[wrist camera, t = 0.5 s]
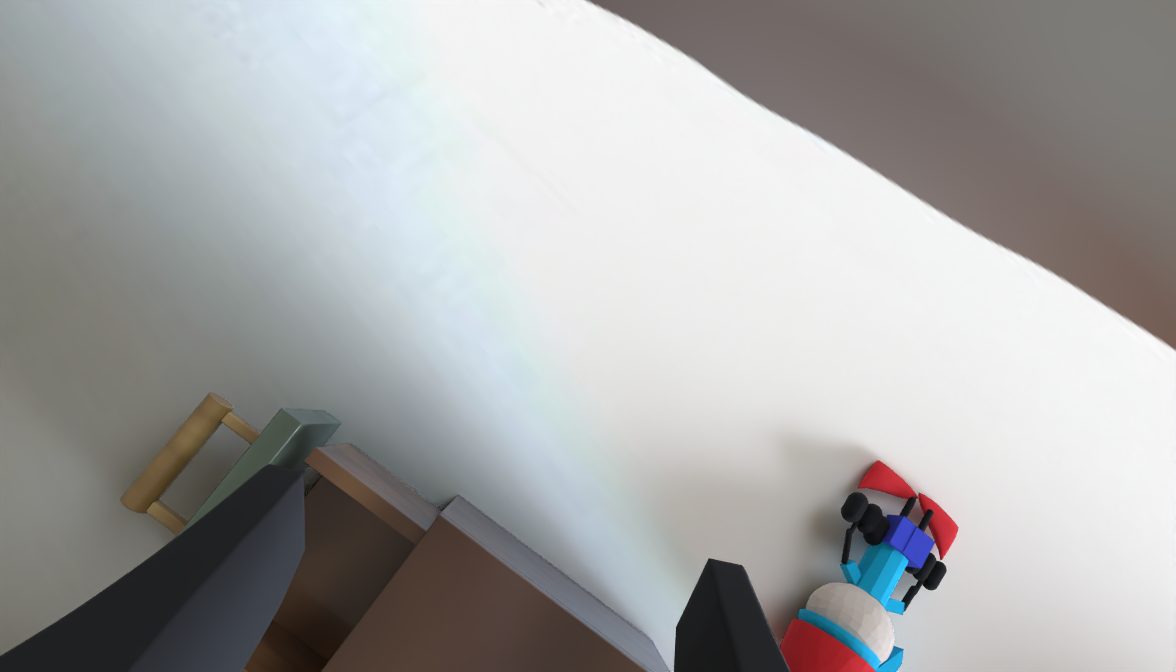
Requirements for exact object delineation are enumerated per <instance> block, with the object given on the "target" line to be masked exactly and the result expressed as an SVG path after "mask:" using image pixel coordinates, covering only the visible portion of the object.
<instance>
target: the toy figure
mask: <svg viewBox="0 0 1176 672" xmlns="http://www.w3.org/2000/svg"><path fill="white" fill-rule="evenodd" d="M858 488H869V489H874V490H878V491H881V492H885V493H888V494H891V495H894V496H898V497H901V498H905V499H908V500H907V502H906V504H905V506H904V508H903V509H902V511H901V513H900V515H899V516H898V515H887V517H884V516H883V514H882V510H881V508H880V507H879V506H877V505H876V504H871V503H870V504H868V500H867V498H866V496H865V495H863V494H862V493H859V492H854V493H851V494H850V495H849V496H848V498H847V500H846V501H845V503H844V505H843V507H842V508H841V514H842V517H843V518H844V519H845V520H846V521H848V522H851V523H853V524H852V526H851V527H850V528H849V529H847V531H846V537H845V542H844V548H843V554H842V560H841V562H842V564H840V566H841V568H842V571H843V573H844V575H845V577H846V579H847V582H848V583H841V582H832V583H828V584H824V585H823V586H821V587H819V588H818V589H816V590H815V591H814V592H813V593H812V594H811V596H810V597H809V600H808V602H807V605H806V609H800V611H799V613H798V619H792V621H791V623H790V625H789V627H788V629H787V631H786V633H785V635H784V638H783V641H782V643H781V646H780V650H781V652H782V654H783V656H784V659H785V661H786V663H787V665H788V667H789V669H790V671H791V672H896V671H897V670H898V669H899V667H900V666H901V664H902V658H903V650H904V649H901V648H898V647H895V646H894V641H895V637H894V629H893V624H892V622H891V619H890V617H889V615H888V613H887V612H886V610H887V611H890V612H894V613H897V614H901V615H903V612H904V611H905V610H906V608H907V607H908V605H909V604H910V602H911V601H912V599H913V597H914V596H915V595H916V594H917V592H918V591H919V589H920V587H921V586H922V584H923V586H924V587H925V588H926V589H928V590H935V589H936V588H937V587H938V585H939V583H940V582H941V580H942V578H943V577H944V575H945V573H946V566H945V565H944V564H943V563H942V562H940V561H936V558H935V556H934V555H933V554H932V553H930V551H931V549H932V547H933V545H934V543H936V545H937V548H938V550H939V555H940V560H942V559H943V557H944V556H945V554H946V553H947V551H948V550H949V548H950V546H951V544H952V543H953V541H954V539H955V537H956V534H957V531H958V526H957V525H956V523H955V522H954V521H953V520H952V519H951V518H950V517H949V516H948V515H947V513H946V512H944V511H943V509H942V508H941V507H940V506H939V505H938V504H936V503H935V502H934V501H933V500H931V499H930V498H928V497H927V496H925V495H923V494H921V493H919V494H918V497H917V495H916V494H915V492H914V491H913V490H912V488H911V487H910V486H909V485H908V484H907V483H906V482H905V481H904V480H903V479H902V478H901V477H900V476H899V475H897V474H896V473H895V472H894V471H893V470H891V469H890V468H889V467H887V466H886V465H885V464H883V463H882V462H881V461H876V462H875V464H874V465H873V466H872V467H871V468H870V469H869V471H868V472H867V474H866V475H865V476H864V478H863V479H862V481H861V483H860V484H859V486H858ZM917 498H919V503H920V506H921V509H922V511H923V514H924V517H923V518H922V520H921V522H920V524H919V526H918V527H916V526H915V525H914V524H913V523H912V522H911V521H910V520H908V519H907V516H908V515H909V513H910V511H911V509H912V507H913V506H914V504H915V502H916V499H917ZM927 525H929V528H930V530H931V532H932V535H933V537H934V540H935V542H934V541H933V540H932V539H931V538H930V537H929V536H927V535H926V534H925V533H924V531H925V529H926V527H927ZM856 527H857V529H858V530H859V531H860V532H862V533H863V537H864V539H865V541H866V542H867V543H868V544H870V545H869V547H868V549H867V550H866V552H865V554H864V556H863V557H862V559H861V561H860V563H859V564H858V566H857V564H856V562H855V561H853V560H848V557H849V551H850V545H851V539H852V534H853V532H854V531H855V529H856ZM904 570H906V571H907V572H908V573H910V574H913V576H914V578H916V579H917V580H918V582H917V584H916V585H915V586H911V587H910V589H909V590H908V592H907V593H906V595H905V596H904V598H903V599H902V601H897V600H894V599H891V598H890V596H891V594H892V592H893V590H894V588H895V587H896V585H897V583H898V581H899V579H900V577H901V575H902V573H903V572H904Z"/></svg>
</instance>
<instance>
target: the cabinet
mask: <svg viewBox="0 0 1176 672" xmlns="http://www.w3.org/2000/svg"><path fill="white" fill-rule="evenodd" d="M321 672H670V671H669V670H668V668H667V666H666V664H665V662H664V661H663V659H662V657H661V655H660V653H659V652H658V650H657V648H656V646H655V644H654V643H653V641H652V640H651V639H650V638H649V637H647V636H646V635H645V634H643V633H642V632H641V631H639V630H638V629H637V628H635V627H634V626H633V625H631V624H630V623H629V622H627V621H626V620H625V619H623V618H622V617H621V616H619V615H618V614H617V613H615V612H614V611H613V610H611V609H610V608H609V607H607V606H606V605H605V604H603V603H602V602H601V601H599V600H598V599H597V598H595V597H594V596H593V595H591V594H590V593H589V592H587V591H586V590H585V589H583V588H582V587H581V586H579V585H578V584H577V583H575V582H574V581H573V580H572V579H570V578H569V577H568V576H566V575H565V574H564V573H562V572H561V571H560V570H558V569H557V568H556V567H554V566H553V565H552V564H550V563H549V562H548V561H546V560H545V559H544V558H542V557H541V556H540V555H538V554H537V553H536V552H534V551H533V550H532V549H530V548H529V547H528V546H526V545H525V544H524V543H522V542H521V541H520V540H518V539H517V538H516V537H514V536H513V535H512V534H510V533H509V532H508V531H506V530H505V529H504V528H502V527H501V526H500V525H498V524H497V523H496V522H494V521H493V520H492V519H490V518H489V517H488V516H486V515H485V514H484V513H482V512H481V511H480V510H478V509H477V508H476V507H474V506H473V505H472V504H470V503H469V502H468V501H466V500H465V499H464V498H463V497H461V496H460V495H458V496H457V497H456V498H455V499H454V500H453V501H452V502H451V503H450V504H449V505H448V506H447V507H446V508H445V509H444V510H443V511H442V512H441V513H440V514H439V515H438V516H437V518H436V519H435V520H434V522H433V523H432V524H431V526H430V527H429V528H428V530H427V531H426V532H425V534H424V535H423V536H422V538H421V539H420V540H419V542H418V543H417V544H416V546H415V547H414V548H413V550H412V551H411V552H410V554H409V555H408V556H407V558H406V559H405V560H404V562H403V563H402V564H401V566H400V567H399V568H398V569H397V571H396V572H395V573H394V575H393V576H392V577H391V579H390V580H389V581H388V583H387V584H386V585H385V587H384V588H383V589H382V591H381V592H380V593H379V595H378V596H377V597H376V599H375V600H374V601H373V603H372V604H371V605H370V607H369V608H368V609H367V611H366V612H365V613H364V615H363V616H362V617H361V619H360V620H359V621H358V622H357V624H356V625H355V626H354V628H353V629H352V630H351V632H350V633H349V634H348V636H347V637H346V638H345V640H344V641H343V642H342V644H341V645H340V646H339V648H338V649H337V650H336V652H335V653H334V654H333V656H332V657H331V658H330V660H329V661H328V662H327V664H326V665H325V666H324V668H323V669H322V670H321Z"/></svg>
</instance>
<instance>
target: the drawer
mask: <svg viewBox="0 0 1176 672" xmlns="http://www.w3.org/2000/svg"><path fill="white" fill-rule="evenodd" d="M233 409H234V406H233V405H232V404H231V403H230V402H229V401H227V400H226V399H225V398H223V397H221V396H220V395H217V394H215V393H209V394H208V395H207V396H206V397H205V399H204V400H203V401H202V402H201V403H200V405H199V406H198V407H197V408H196V409H195V410H194V412H193V413H192V414H191V415H190V416H189V418H188V419H187V420H186V421H185V422H184V424H183V425H182V426H181V427H180V428H179V429H178V431H177V432H176V433H175V434H174V435H173V437H172V438H171V439H170V440H169V441H168V443H167V444H166V445H165V446H164V447H163V448H162V450H161V451H160V452H159V453H158V454H157V456H156V457H155V458H154V459H153V460H152V462H151V463H150V464H149V465H148V466H147V467H146V469H145V470H144V471H143V472H142V473H141V475H140V476H139V477H138V478H137V479H136V481H135V482H134V483H133V484H132V485H131V486H130V488H129V489H128V490H127V491H126V492H125V494H124V495H123V496H122V497H121V502H122V503H123V504H124V505H125V506H126V507H127V508H129V509H130V510H132V511H135V512H137V513H142V514H144V513H149V514H150V515H151V516H153V517H154V518H155V519H157V520H158V521H159V522H161V523H162V524H163V525H165V526H166V527H167V528H169V529H170V530H171V531H173V532H174V533H175V534H177V536H179V535H180V534H181V533H182V532H184V531H185V530H186V529H188V528H189V527H190V526H192V525H193V524H194V523H195V522H197V521H198V520H199V519H200V518H202V517H203V516H204V515H205V514H207V513H208V512H209V511H210V510H212V509H213V508H214V507H215V506H217V505H218V504H219V503H220V502H222V501H223V500H224V499H225V498H226V497H228V496H229V495H230V494H231V493H233V492H234V491H235V490H236V489H237V488H239V487H240V486H241V485H242V484H243V483H244V482H246V481H247V480H248V479H249V478H250V477H252V476H253V475H254V474H255V473H256V472H258V471H259V470H260V469H261V468H262V467H264V466H266V465H268V464H271V465H276V466H281V467H285V468H290V469H295V470H299V471H304V469H305V468H306V467H307V466H308V465H309V466H311V467H312V468H313V469H315V470H316V471H317V472H319V473H320V474H321V475H322V476H321V477H320V478H319V479H318V481H317V482H316V483H315V484H314V486H313V487H312V488H311V489H310V491H309V492H308V493H307V494H306V496H305V497H304V510H305V551H304V553H303V556H302V558H301V560H300V563H299V565H298V567H297V569H296V572H295V574H294V576H293V579H292V581H291V583H290V585H289V588H288V590H287V592H286V594H285V596H284V599H283V601H282V603H281V605H280V607H279V609H278V611H277V612H276V614H275V616H274V618H273V619H272V621H271V623H270V625H269V626H268V628H267V630H266V632H265V633H264V635H263V637H262V638H261V640H260V642H259V644H258V645H257V647H256V649H255V651H254V652H253V654H252V656H251V657H250V659H249V661H248V662H247V664H246V666H245V668H244V669H243V671H242V672H321V670H322V669H323V668H324V666H325V665H326V664H327V662H328V661H329V660H330V658H331V657H332V656H333V654H334V653H335V652H336V650H337V649H338V648H339V646H340V645H341V644H342V642H343V641H344V640H345V638H346V637H347V636H348V634H349V633H350V632H351V630H352V629H353V628H354V626H355V625H356V624H357V622H358V621H359V620H360V619H361V617H362V616H363V615H364V613H365V612H366V611H367V609H368V608H369V607H370V605H371V604H372V603H373V601H374V600H375V599H376V597H377V596H378V595H379V593H380V592H381V591H382V589H383V588H384V587H385V585H386V584H387V583H388V581H389V580H390V579H391V577H392V576H393V575H394V573H395V572H396V571H397V569H398V568H399V567H400V566H401V564H402V563H403V562H404V560H405V559H406V558H407V556H408V555H409V554H410V552H411V551H412V550H413V548H414V547H415V546H416V544H417V543H418V542H419V540H420V539H421V538H422V536H423V535H424V534H425V532H426V531H427V530H428V528H429V527H430V526H431V524H432V523H433V522H434V520H435V519H436V518H437V516H438V515H439V514H440V513H441V512H442V511H441V510H439V509H438V508H437V507H435V506H434V505H433V504H431V503H430V502H429V501H427V500H426V499H425V498H423V497H422V496H421V495H419V494H418V493H417V492H415V491H414V490H413V489H411V488H410V487H409V486H407V485H406V484H405V483H404V482H402V481H401V480H400V479H398V478H397V477H396V476H394V475H393V474H392V473H390V472H389V471H388V470H386V469H385V468H384V467H382V466H381V465H380V464H378V463H377V462H376V461H374V460H373V459H372V458H370V457H369V456H368V455H366V454H365V453H364V452H362V451H361V450H360V449H358V448H357V447H356V446H354V445H353V444H352V443H348V444H339V445H331V446H324V444H325V443H326V442H327V441H328V439H329V438H330V437H331V436H332V434H333V433H334V432H335V431H336V429H337V428H338V427H339V426H340V424H341V422H339V421H338V420H337V419H335V418H334V417H333V416H331V415H330V414H329V413H327V412H326V411H324V410H304V409H284V408H282V409H280V411H279V412H278V413H277V414H276V415H275V417H274V418H273V419H272V420H271V422H270V423H269V424H268V425H267V426H266V428H265V429H264V430H263V431H262V433H260V432H259V431H257V430H256V429H255V428H253V427H252V426H251V425H249V424H248V423H247V422H245V421H244V420H243V419H241V418H240V417H239V416H237V415H236V414H235V413H233V412H231V411H232V410H233ZM222 423H224V424H225V425H226V426H228V427H229V428H230V429H232V430H233V431H234V432H236V433H237V434H238V435H240V436H241V437H242V438H244V439H245V440H246V441H248V442H249V443H250V444H252V445H251V446H250V447H249V448H248V450H247V451H246V452H245V453H244V455H243V456H242V457H241V458H240V459H239V461H238V462H237V463H236V464H235V466H234V467H233V468H232V469H231V470H230V472H229V473H228V474H227V475H226V477H225V478H224V479H223V480H222V481H221V483H220V484H219V485H218V486H217V488H216V489H215V490H214V491H213V492H212V494H211V495H210V496H209V497H208V498H207V500H206V501H205V502H204V503H203V505H202V506H201V507H200V508H199V509H198V511H197V512H196V513H195V514H194V516H193V517H192V518H191V519H190V520H189V522H187V521H186V520H185V519H183V518H182V517H181V516H179V515H178V514H177V513H175V512H174V511H173V510H171V509H170V508H169V507H167V506H166V505H165V504H163V503H162V502H161V501H157V500H158V499H159V498H160V497H161V496H162V494H163V493H164V492H165V491H166V490H167V488H168V487H169V486H170V485H171V484H172V482H173V481H174V480H175V479H176V478H177V476H178V475H179V474H180V473H181V472H182V470H183V469H184V468H185V467H186V466H187V464H188V463H189V462H190V461H191V460H192V458H193V457H194V456H195V455H196V454H197V452H198V451H199V450H200V449H201V448H202V446H203V445H204V444H205V443H206V442H207V440H208V439H209V438H210V437H211V436H212V434H213V433H214V432H215V431H216V430H217V428H218V427H219V426H220V425H221V424H222ZM177 536H176V537H177Z"/></svg>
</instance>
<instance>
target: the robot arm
mask: <svg viewBox="0 0 1176 672" xmlns="http://www.w3.org/2000/svg"><path fill="white" fill-rule="evenodd" d="M304 551H305V510H304V471H299V470H295V469H290V468H285V467H281V466H276V465H271V464H268V465H266V466H264V467H262V468H261V469H260V470H259V471H258V472H256V473H255V474H254V475H253V476H252V477H250V478H249V479H248V480H247V481H246V482H244V483H243V484H242V485H241V486H240V487H239V488H237V489H236V490H235V491H234V492H233V493H231V494H230V495H229V496H228V497H226V498H225V499H224V500H223V501H222V502H220V503H219V504H218V505H217V506H215V507H214V508H213V509H212V510H210V511H209V512H208V513H207V514H205V515H204V516H203V517H202V518H200V519H199V520H198V521H197V522H195V523H194V524H193V525H192V526H190V527H189V528H188V529H186V530H185V531H184V532H182V533H181V534H180V535H179V536H177V537H176V538H175V539H173V540H172V541H171V542H169V543H168V544H167V545H166V546H164V547H163V548H162V549H160V550H159V551H158V552H156V553H155V554H154V555H152V556H151V557H150V558H148V559H147V560H146V561H144V562H143V563H142V564H140V565H139V566H137V567H136V568H134V569H133V570H132V571H130V572H129V573H127V574H126V575H124V576H123V577H122V578H120V579H119V580H117V581H116V582H115V583H113V584H112V585H110V586H109V587H107V588H106V589H105V590H103V591H102V592H100V593H99V594H97V595H96V596H95V597H93V598H92V599H90V600H89V601H87V602H86V603H84V604H83V605H81V606H80V607H78V608H77V609H75V610H74V611H72V612H71V613H69V614H68V615H66V616H64V617H63V618H61V619H60V620H58V621H57V622H55V623H54V624H52V625H50V626H49V627H47V628H46V629H44V630H42V631H41V632H39V633H37V634H36V635H34V636H33V637H31V638H29V639H28V640H26V641H25V642H23V643H21V644H20V645H18V646H16V647H15V648H13V649H11V650H10V651H8V652H6V653H4V654H3V655H1V656H0V672H242V671H243V669H244V668H245V666H246V664H247V662H248V661H249V659H250V657H251V656H252V654H253V652H254V651H255V649H256V647H257V645H258V644H259V642H260V640H261V638H262V637H263V635H264V633H265V632H266V630H267V628H268V626H269V625H270V623H271V621H272V619H273V618H274V616H275V614H276V612H277V611H278V609H279V607H280V605H281V603H282V601H283V599H284V596H285V594H286V592H287V590H288V588H289V585H290V583H291V581H292V579H293V576H294V574H295V572H296V569H297V567H298V565H299V563H300V560H301V558H302V556H303V553H304ZM674 672H791V671H790V669H789V667H788V665H787V663H786V661H785V659H784V656H783V654H782V652H781V650H780V648H779V646H778V644H777V641H776V639H775V637H774V635H773V633H772V630H771V628H770V626H769V624H768V622H767V619H766V617H765V615H764V612H763V610H762V608H761V606H760V603H759V601H758V599H757V596H756V594H755V592H754V589H753V587H752V585H751V582H750V580H749V577H748V575H747V573H746V571H745V569H744V567H743V566H742V565H738V564H733V563H729V562H724V561H719V560H715V559H710V558H709V559H708V561H707V563H706V565H705V568H704V570H703V572H702V574H701V576H700V578H699V580H698V582H697V584H696V587H695V589H694V591H693V593H692V595H691V597H690V599H689V601H688V603H687V606H686V608H685V610H684V612H683V614H682V616H681V618H680V620H679V622H678V624H677V627H676V640H675V659H674Z"/></svg>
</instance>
